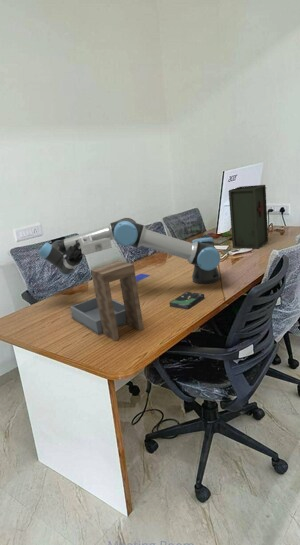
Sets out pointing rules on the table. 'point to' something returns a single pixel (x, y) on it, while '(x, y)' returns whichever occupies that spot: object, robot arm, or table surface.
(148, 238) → the robot arm
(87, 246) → the t handle
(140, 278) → the hard drive
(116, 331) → the bridge
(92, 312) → the tray
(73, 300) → the table surface
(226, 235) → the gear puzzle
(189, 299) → the disk drive
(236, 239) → the first aid box
